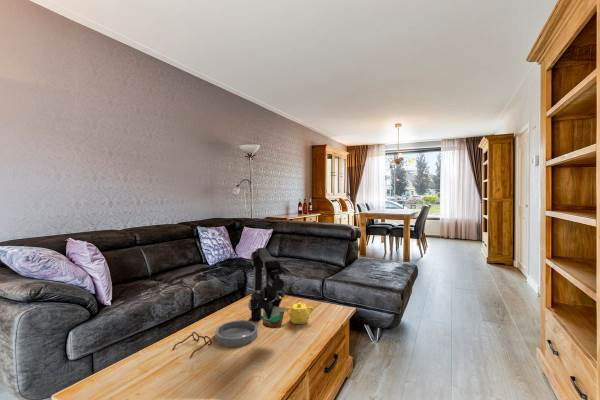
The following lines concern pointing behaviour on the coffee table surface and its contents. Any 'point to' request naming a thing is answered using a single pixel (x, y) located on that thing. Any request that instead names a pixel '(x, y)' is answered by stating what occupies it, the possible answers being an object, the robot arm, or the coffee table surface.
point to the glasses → (197, 340)
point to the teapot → (299, 313)
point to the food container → (274, 317)
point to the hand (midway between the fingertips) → (271, 316)
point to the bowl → (236, 333)
